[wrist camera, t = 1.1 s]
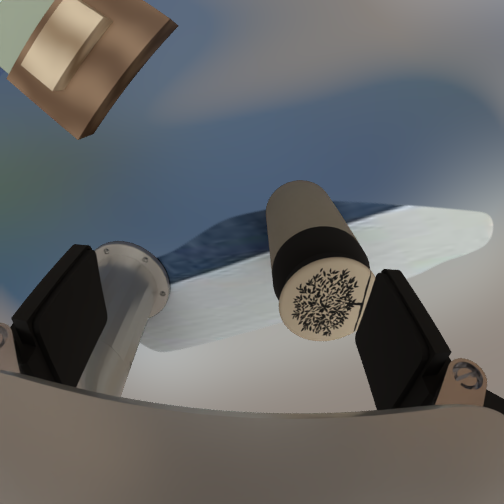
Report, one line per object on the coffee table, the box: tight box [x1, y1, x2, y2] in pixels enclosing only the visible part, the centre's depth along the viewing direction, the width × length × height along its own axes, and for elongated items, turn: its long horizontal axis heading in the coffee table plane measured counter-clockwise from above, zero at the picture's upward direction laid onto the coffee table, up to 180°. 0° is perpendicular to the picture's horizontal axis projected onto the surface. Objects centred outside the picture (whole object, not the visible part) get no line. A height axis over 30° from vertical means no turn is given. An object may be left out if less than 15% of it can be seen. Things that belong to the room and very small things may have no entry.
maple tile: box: [21, 0, 113, 91], centre depth 23 cm, size 9×6×2 cm, turn 137°
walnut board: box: [7, 0, 178, 140], centre depth 27 cm, size 16×14×4 cm
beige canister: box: [266, 180, 375, 341], centre depth 31 cm, size 8×8×18 cm
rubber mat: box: [0, 0, 54, 74], centre depth 24 cm, size 18×13×1 cm
